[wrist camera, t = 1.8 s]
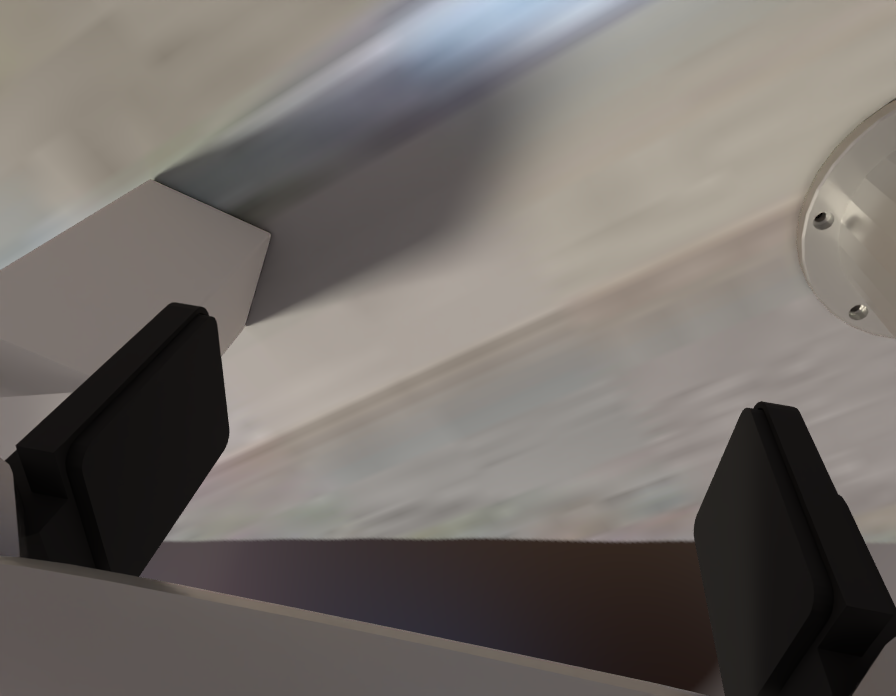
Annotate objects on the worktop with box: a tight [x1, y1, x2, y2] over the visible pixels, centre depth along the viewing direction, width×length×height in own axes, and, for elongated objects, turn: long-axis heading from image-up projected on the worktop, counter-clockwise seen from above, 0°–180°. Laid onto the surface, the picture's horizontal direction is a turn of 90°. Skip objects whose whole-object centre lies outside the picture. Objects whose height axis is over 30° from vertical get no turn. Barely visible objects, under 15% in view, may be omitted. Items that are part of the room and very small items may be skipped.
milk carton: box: [0, 179, 271, 461], centre depth 30 cm, size 7×7×19 cm
